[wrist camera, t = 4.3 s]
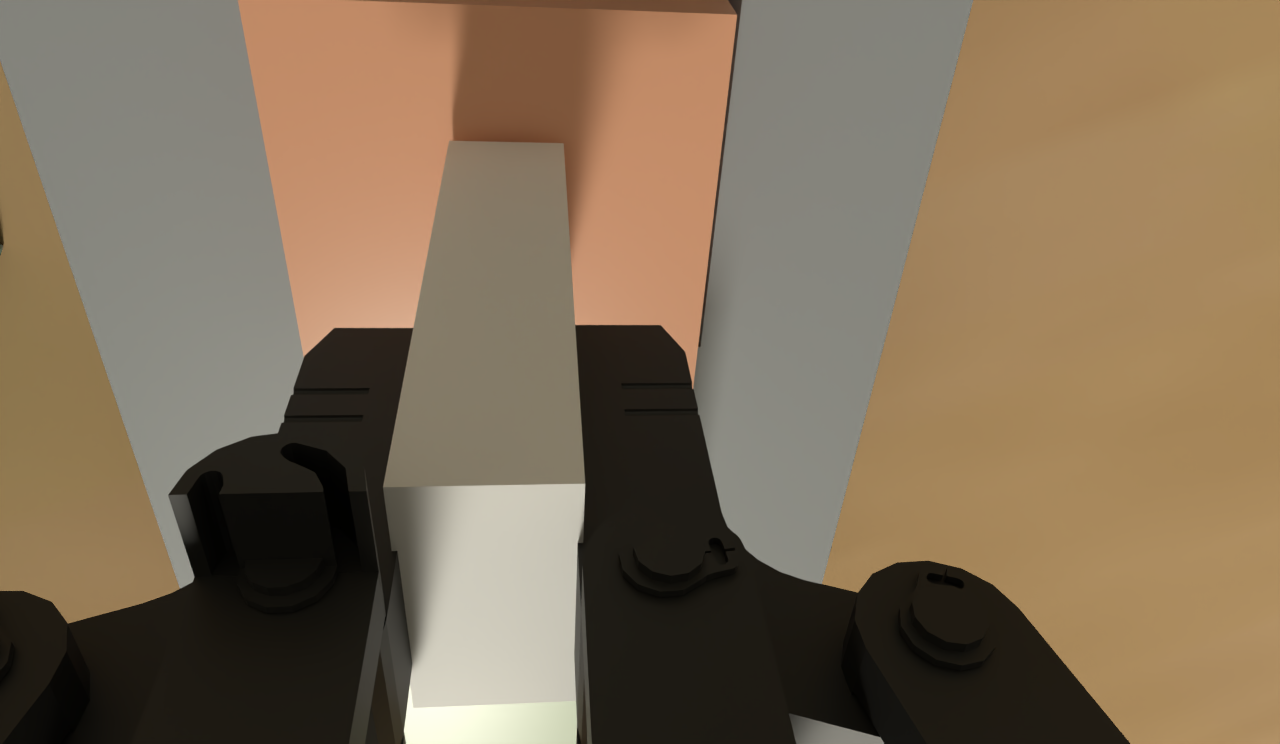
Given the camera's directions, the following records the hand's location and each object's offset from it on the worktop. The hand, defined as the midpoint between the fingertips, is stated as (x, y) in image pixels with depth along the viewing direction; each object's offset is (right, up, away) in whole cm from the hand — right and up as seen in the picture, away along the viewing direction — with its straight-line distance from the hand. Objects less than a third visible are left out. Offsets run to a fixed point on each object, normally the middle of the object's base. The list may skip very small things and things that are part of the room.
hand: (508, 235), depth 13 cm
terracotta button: (0, +3, +3) cm, 4 cm away
